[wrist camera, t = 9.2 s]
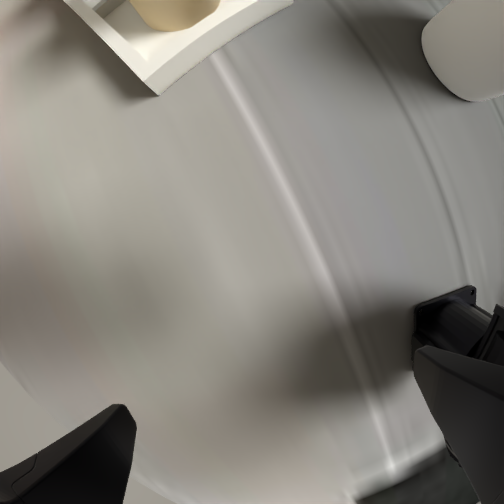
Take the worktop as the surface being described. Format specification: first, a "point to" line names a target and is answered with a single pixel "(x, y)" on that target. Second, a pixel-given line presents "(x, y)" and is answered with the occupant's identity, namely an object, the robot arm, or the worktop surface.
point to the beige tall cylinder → (174, 12)
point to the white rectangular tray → (169, 35)
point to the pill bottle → (468, 48)
